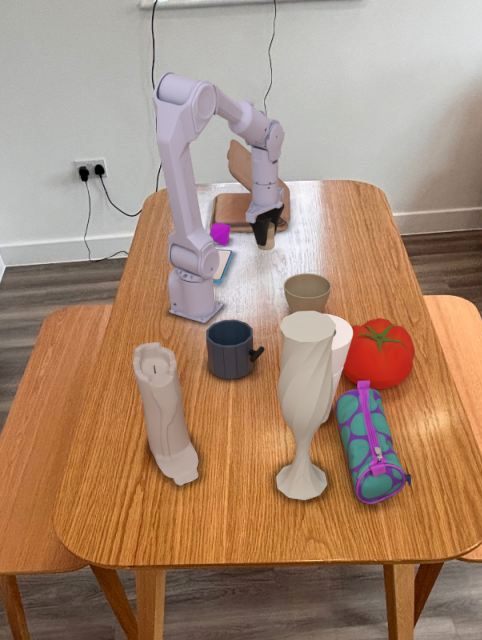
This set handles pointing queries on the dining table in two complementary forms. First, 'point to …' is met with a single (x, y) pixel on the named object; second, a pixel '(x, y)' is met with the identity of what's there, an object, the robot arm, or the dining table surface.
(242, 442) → the dining table surface
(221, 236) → the crystal
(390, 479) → the pencil case
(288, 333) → the vase
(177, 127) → the robot arm
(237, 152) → the case
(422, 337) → the dining table surface
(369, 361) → the tomato
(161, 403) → the candle
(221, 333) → the blue cylindrical container
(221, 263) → the smartphone
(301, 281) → the flower pot
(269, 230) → the peg
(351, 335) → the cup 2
